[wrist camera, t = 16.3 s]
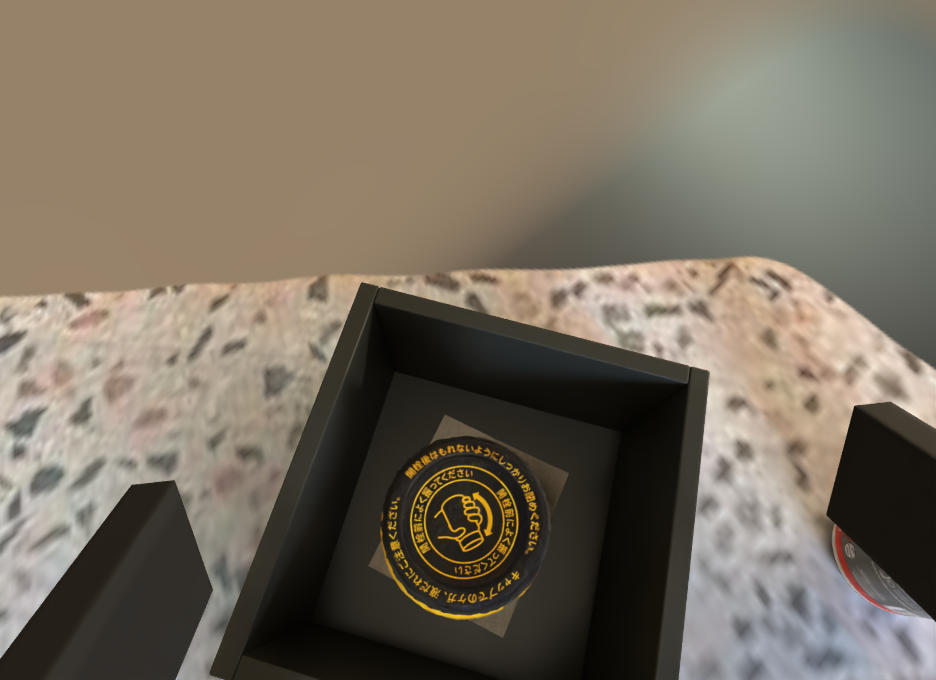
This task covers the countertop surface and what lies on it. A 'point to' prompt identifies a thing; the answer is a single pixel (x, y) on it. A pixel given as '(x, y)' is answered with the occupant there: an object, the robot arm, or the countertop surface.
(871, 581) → the pill bottle
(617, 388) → the waste bin
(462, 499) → the condiment
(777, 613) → the countertop surface
